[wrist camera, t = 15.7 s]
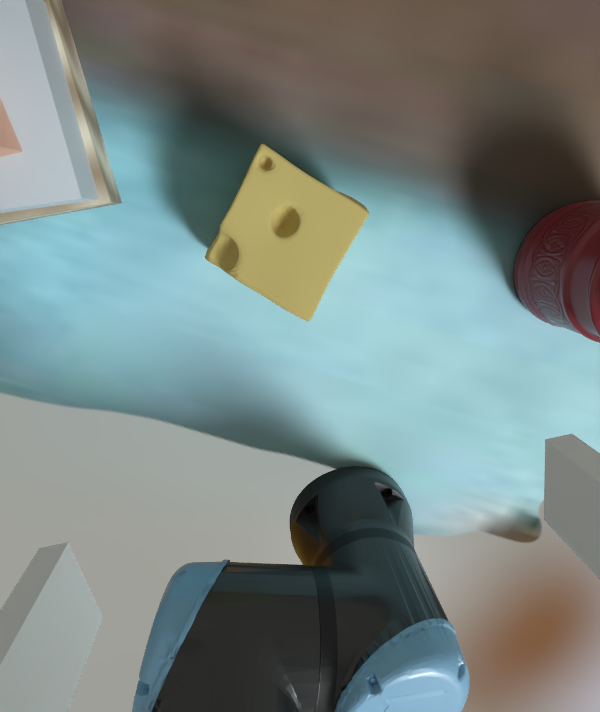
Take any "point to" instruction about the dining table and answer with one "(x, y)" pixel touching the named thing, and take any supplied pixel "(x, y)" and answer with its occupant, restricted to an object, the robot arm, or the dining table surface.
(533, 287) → the canister
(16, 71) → the tower top
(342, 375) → the dining table surface
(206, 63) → the dining table surface
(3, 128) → the terracotta block
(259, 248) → the cheese
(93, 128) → the tower base
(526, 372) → the dining table surface
